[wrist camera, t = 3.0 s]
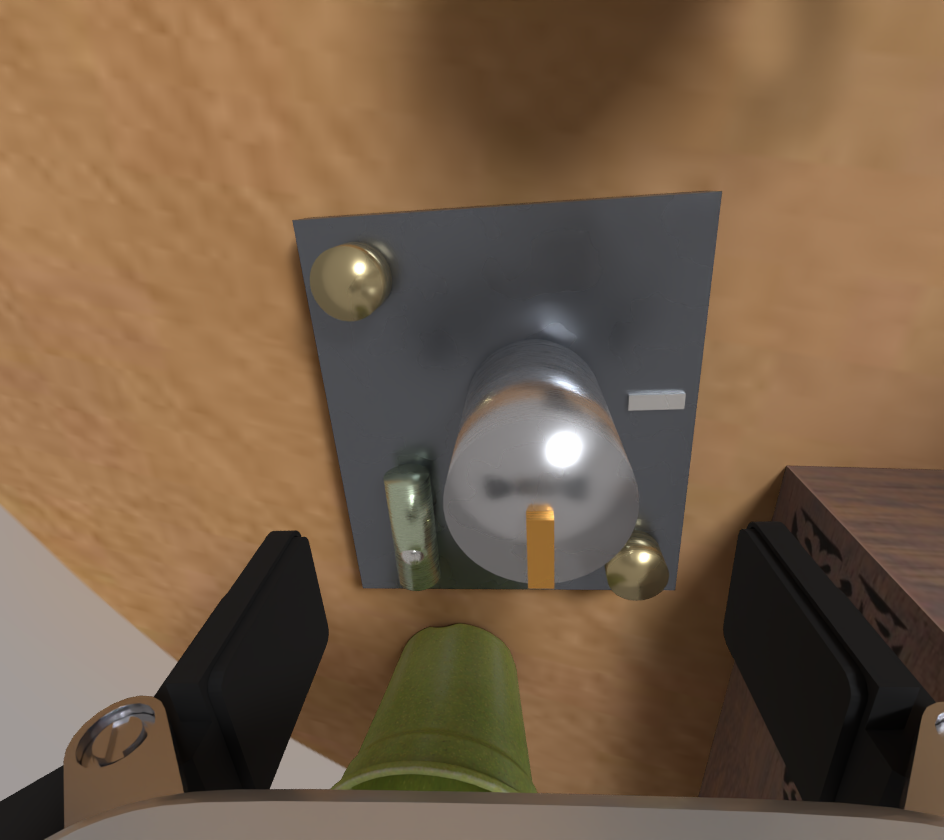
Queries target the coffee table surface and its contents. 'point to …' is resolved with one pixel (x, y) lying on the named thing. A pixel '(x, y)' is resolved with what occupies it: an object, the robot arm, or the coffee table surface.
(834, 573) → the tissue box cover
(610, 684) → the coffee table surface
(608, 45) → the coffee table surface
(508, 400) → the silver cylinder
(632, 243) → the base
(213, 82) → the coffee table surface
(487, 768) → the plant pot
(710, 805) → the robot arm
